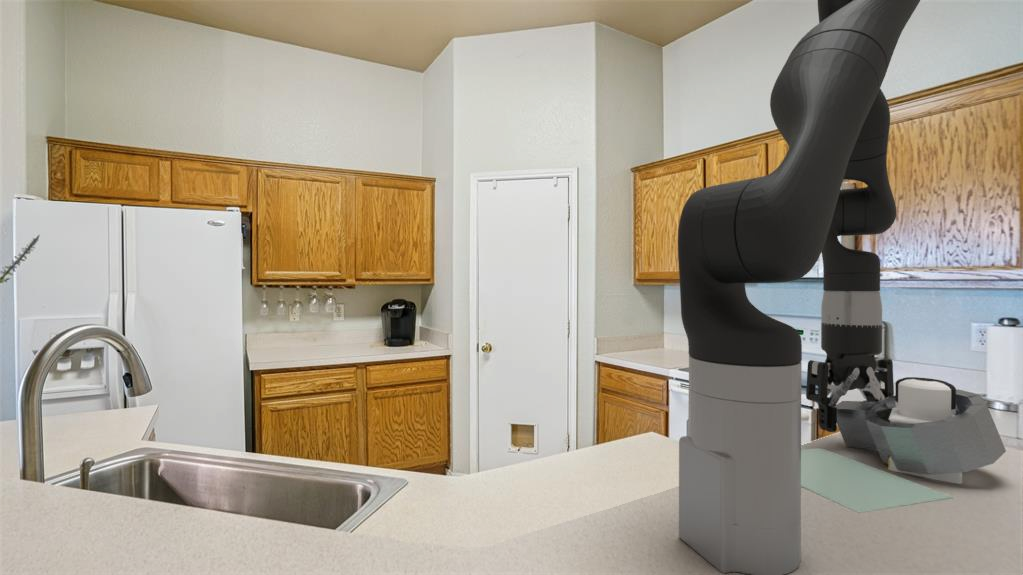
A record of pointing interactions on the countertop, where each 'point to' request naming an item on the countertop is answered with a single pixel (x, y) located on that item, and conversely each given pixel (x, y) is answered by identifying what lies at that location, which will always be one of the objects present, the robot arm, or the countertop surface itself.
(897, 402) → the medicine bottle
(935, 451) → the ring
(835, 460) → the mat
